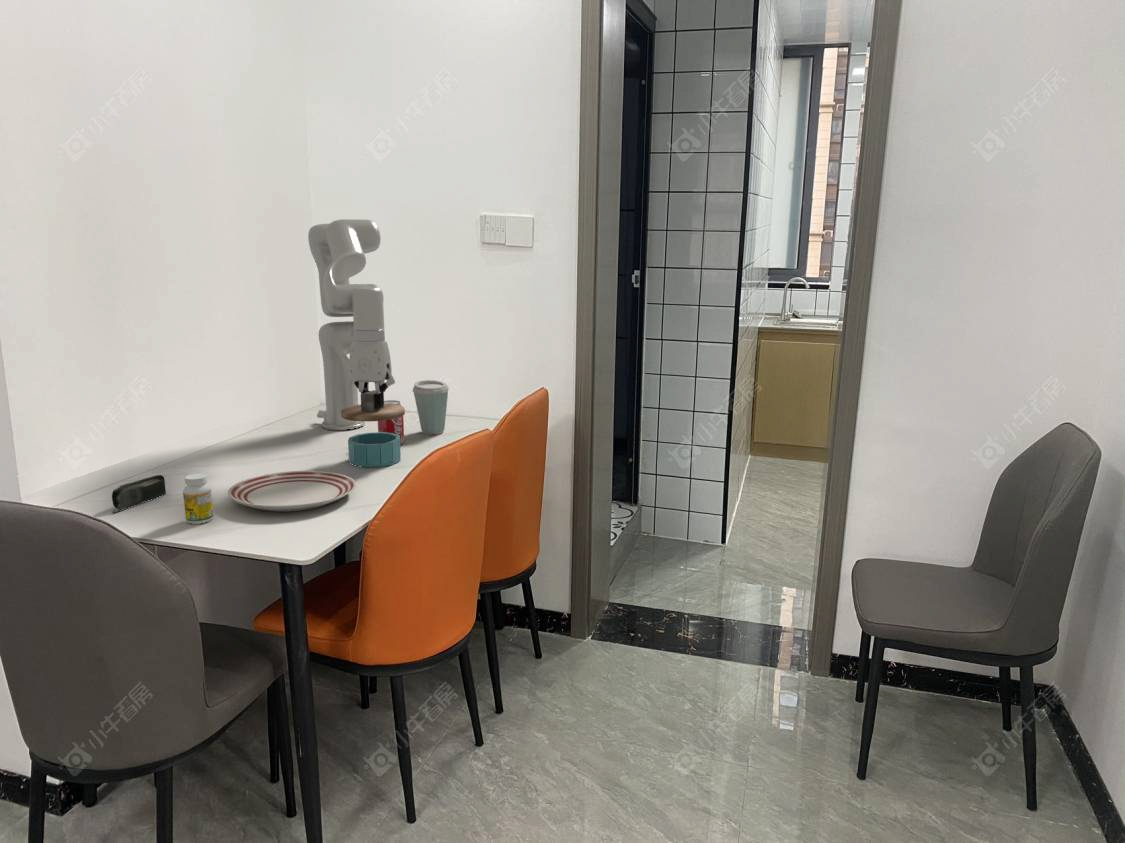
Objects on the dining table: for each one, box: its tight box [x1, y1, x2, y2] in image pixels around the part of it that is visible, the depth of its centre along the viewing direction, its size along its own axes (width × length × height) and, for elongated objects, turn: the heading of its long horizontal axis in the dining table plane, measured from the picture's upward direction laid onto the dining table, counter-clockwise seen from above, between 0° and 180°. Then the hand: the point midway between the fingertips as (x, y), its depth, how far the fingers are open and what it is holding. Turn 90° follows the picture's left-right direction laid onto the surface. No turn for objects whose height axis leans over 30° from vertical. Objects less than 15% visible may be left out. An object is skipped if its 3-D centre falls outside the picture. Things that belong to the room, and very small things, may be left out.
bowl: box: [347, 431, 402, 468], centre depth 219 cm, size 13×13×6 cm
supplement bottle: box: [182, 473, 214, 525], centre depth 175 cm, size 5×5×10 cm
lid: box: [341, 389, 406, 422], centre depth 216 cm, size 16×16×6 cm
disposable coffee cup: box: [412, 379, 450, 435], centre depth 248 cm, size 11×11×15 cm
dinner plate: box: [227, 470, 357, 513], centre depth 190 cm, size 28×27×3 cm
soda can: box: [377, 399, 405, 445], centre depth 235 cm, size 7×7×12 cm
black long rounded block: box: [111, 474, 167, 514], centre depth 186 cm, size 5×3×15 cm
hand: (372, 406), depth 216 cm, fingers closed on lid, 3 cm apart
